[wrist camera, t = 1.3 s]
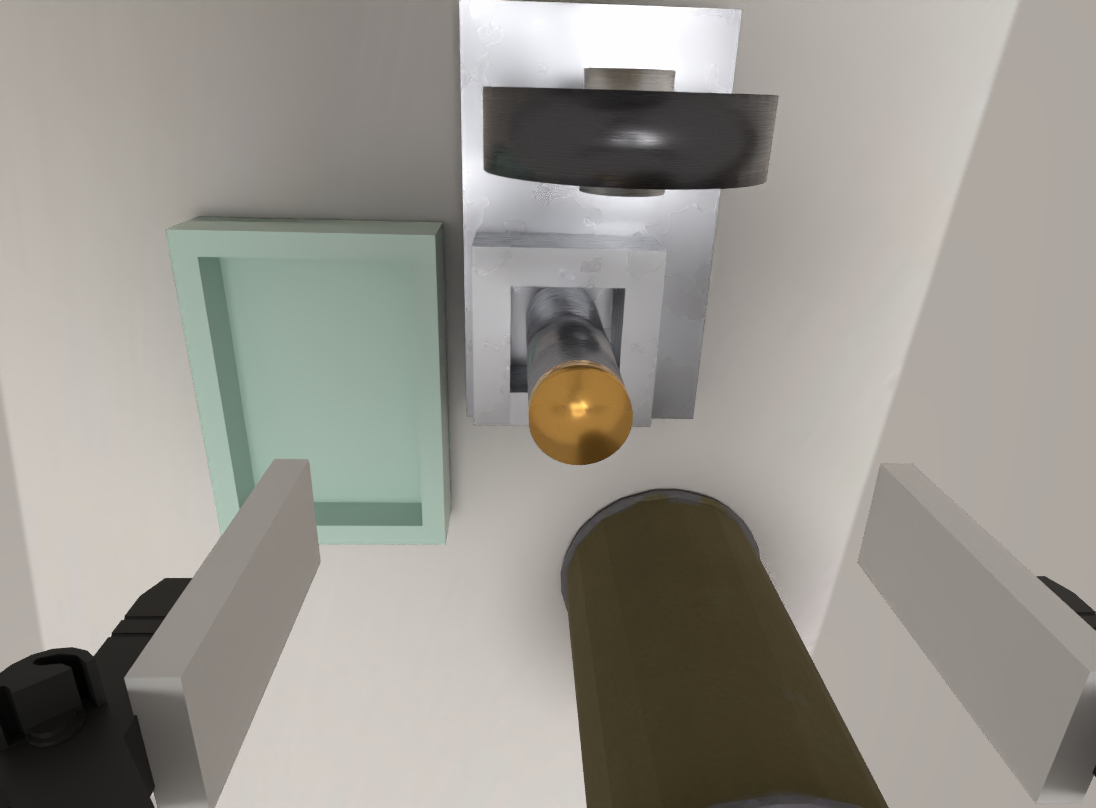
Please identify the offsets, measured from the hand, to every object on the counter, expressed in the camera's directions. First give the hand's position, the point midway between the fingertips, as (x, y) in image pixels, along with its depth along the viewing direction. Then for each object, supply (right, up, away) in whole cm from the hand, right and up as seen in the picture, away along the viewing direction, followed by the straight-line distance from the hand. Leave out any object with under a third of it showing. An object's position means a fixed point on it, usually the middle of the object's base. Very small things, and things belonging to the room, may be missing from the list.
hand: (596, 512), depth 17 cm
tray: (-11, +4, +16) cm, 20 cm away
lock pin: (-1, +6, +13) cm, 15 cm away
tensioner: (0, +10, +14) cm, 17 cm away
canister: (+5, -6, +21) cm, 23 cm away
